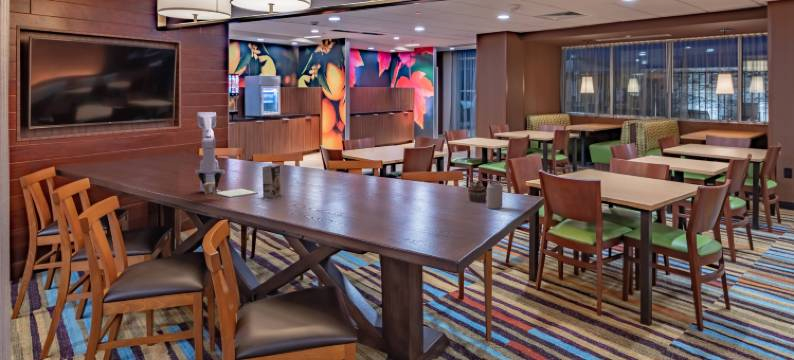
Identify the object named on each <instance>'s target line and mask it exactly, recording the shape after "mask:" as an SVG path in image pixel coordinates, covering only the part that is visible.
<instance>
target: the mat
mask: <svg viewBox="0 0 794 360" xmlns="http://www.w3.org/2000/svg"><path fill="white" fill-rule="evenodd" d="M257 194H259V192H258V191H257V192H256V191H253V190H249V189H245V188H236V189H230V190H223V191H222V190H220V191H219V192H217V194H216V195H218V196H221V197H222V196H223V197H227V198H230V199H231V198H237V196H238V197H243V196H244V195H245V196H249V195H250V196H251V195H257Z"/></svg>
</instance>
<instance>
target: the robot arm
mask: <svg viewBox="0 0 794 360" xmlns="http://www.w3.org/2000/svg"><path fill="white" fill-rule="evenodd" d="M196 119H197V125H198V128H200V129H202V131H201V137H202V138H201V149H202V159H201V160H200V161H199V169H195V170H194V175H198V178H199V179H200V180H199V183H200V186H199V187H200V189H199V190H198V191H199V192H202V193H205V190H204V184H205V183H215V188H217V192H221V190H220V189H218V188H219V182H220V180H221V177H222V175H225V173H226V172H225V169H220V167H219V161H218V160H217V159H216V151H215V149H216V138H215V134H214V132H215V131H214V130H213V128H216V126H217V113H216V112H215V111H214V112H213V111H207V112H205V111H202V112H201V111H197V113H196ZM210 193H213V192H212V187H209V194H210Z"/></svg>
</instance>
